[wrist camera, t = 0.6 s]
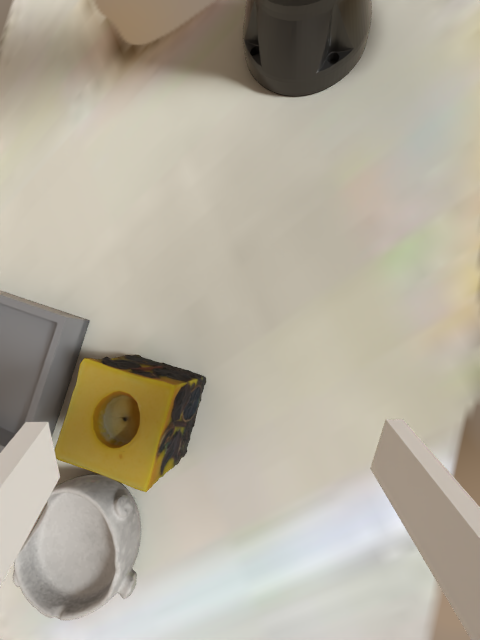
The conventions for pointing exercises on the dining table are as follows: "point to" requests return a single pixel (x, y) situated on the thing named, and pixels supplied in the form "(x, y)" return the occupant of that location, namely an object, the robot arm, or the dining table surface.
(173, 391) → the candle
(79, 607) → the dish
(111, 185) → the dining table surface
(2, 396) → the tray
